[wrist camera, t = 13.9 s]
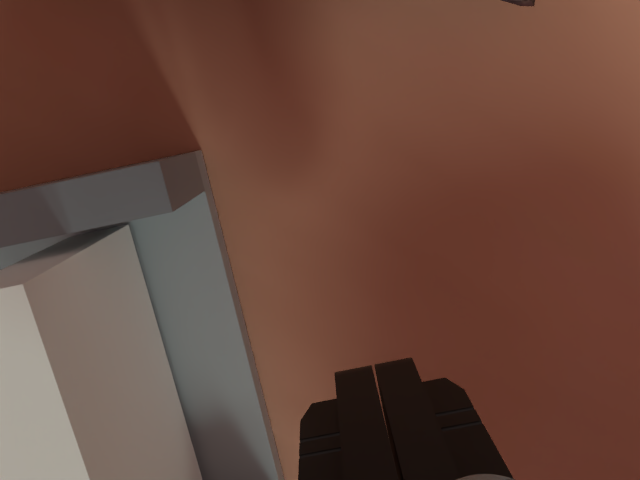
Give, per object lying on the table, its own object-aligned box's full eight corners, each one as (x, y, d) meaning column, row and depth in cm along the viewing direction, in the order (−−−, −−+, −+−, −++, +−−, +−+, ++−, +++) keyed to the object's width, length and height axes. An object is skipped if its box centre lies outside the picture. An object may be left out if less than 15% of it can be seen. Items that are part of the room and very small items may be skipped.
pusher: (211, 510, 15) (163, 694, 10) (159, 520, 15) (87, 709, 10) (128, 224, 13) (22, 283, 8) (70, 236, 13) (-68, 302, 9)
